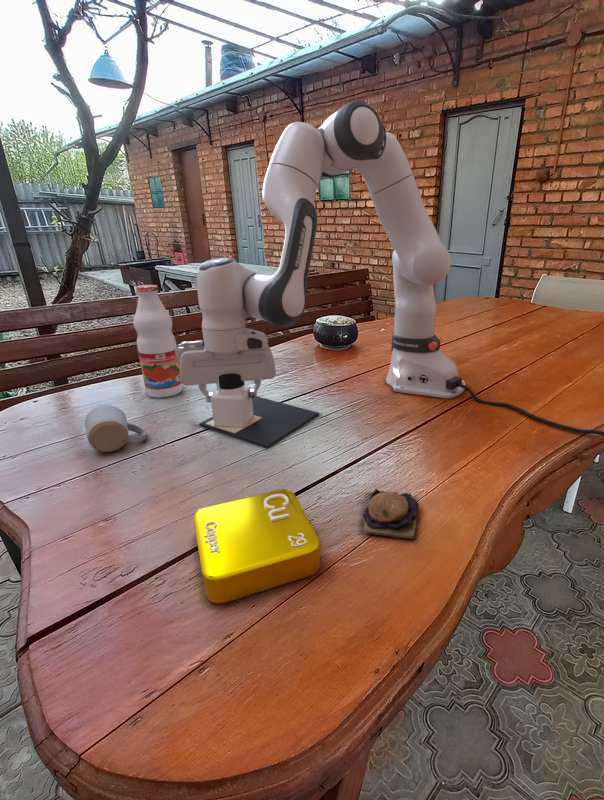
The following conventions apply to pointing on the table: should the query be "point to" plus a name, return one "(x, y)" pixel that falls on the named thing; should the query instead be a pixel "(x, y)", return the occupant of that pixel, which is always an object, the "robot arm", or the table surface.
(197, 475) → the table surface
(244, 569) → the element tile
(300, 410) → the mat
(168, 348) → the fruit juice
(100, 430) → the ceramic mug
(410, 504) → the brown layered stack
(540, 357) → the table surface
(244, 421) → the medicine bottle
